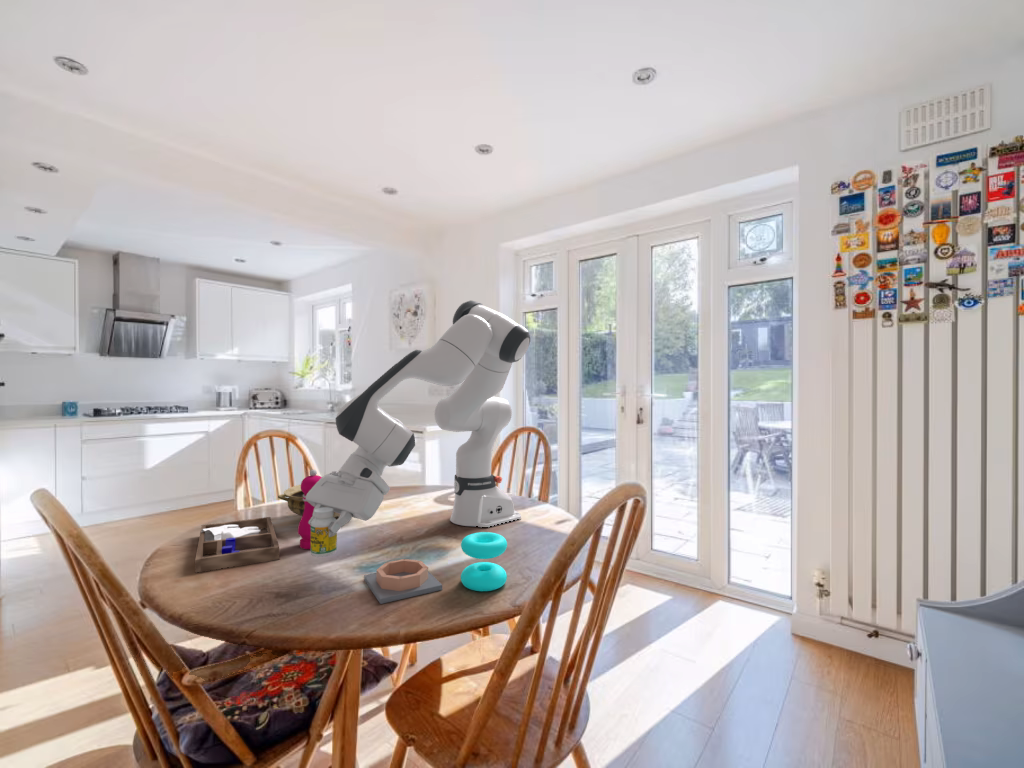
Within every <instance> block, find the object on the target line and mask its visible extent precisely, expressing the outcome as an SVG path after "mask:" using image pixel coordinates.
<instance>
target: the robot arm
mask: <svg viewBox="0 0 1024 768" xmlns="http://www.w3.org/2000/svg"><path fill="white" fill-rule="evenodd" d="M530 343H531V335H530V332H529V331H528V329H527V328H525V327H524V326H523V325H522V324H519V323H517V322H516V321H514V319H511V318H510V317H509V316H507V315H505V314H504V313H502V312H499V311H497V310H495V309H493V308H491V307H489V306H486V305H484V304H483V303H481V302H478V301H475V300H468V301H465V302H463V303H461V304H460V305H459V306H458V307H457V309H456V310H455V312H454V314H453V316H452V325H451V326H450V327H449V328H448V329H447V330H446V331H445V332H444V333H443V334H442V335H441V337H440V338H439V339H438V340H437V342H436V343H435V344H434V345H432V346H431V347H429V348H427V349H425V350H421V349H415V350H412V351H410V352H409V353H408V354H406V355H405V356H403V358H401V359H400V360H399V361H397V362H396V363H395V364H394V365H393V366H392V367H390V368H389V369H388V370H387V371H385V372H384V374H382V375H381V376H379V377H378V378H377V380H375V381H374V382H373V383H372V384H370V385H369V386H368V387H367V388H366V389H365V390H364V391H363V392H362V393H360V394H359V395H357V396H355V397H353V398H352V399H350V400H349V401H348V402H346V403H345V404H344V405H343V406H342V407H341V408H340V409H339V411H338V413H337V415H336V417H335V425H336V430H337V433H338V435H340V436H341V437H343V438H345V439H347V440H349V441H351V442H353V443H355V444H356V445H357V448H356V449H355V450H354V451H353V452H352V453H351V454H350V455H349V456H348V458H347V459H346V461H345V462H344V463H343V464H342V466H341V467H340V468H339V470H338V471H335V470H334V471H331V472H330V473H327V474H326V475H323V476H321V477H322V478H321V479H320V480H319V481H318V482H317V483H316V484H315V485H314V486H313V487H312V489H311V490H310V491H309V492H308V493H307V495H306V501H307V502H309V503H310V504H311V505H312V506H314V507H315V508H314V510H315V509H318V508H324V507H330V508H333V509H334V512H335V513H339V514H340V516H338V517H339V518H338V519H337V520H336V521H335V522H331V523H330V525H329V526H328V530H329V531H330V532H333V533H337V534H338V532H339V530H340V529H341V527H343V526H345V525H346V524H347V523H349V522H350V521H351V519H352V518H355V519H356V520H357V519H358V520H361V521H369V520H370V519H372V518H373V517H374V516H375V514H376V513H377V511H378V509H379V508H380V507H381V505H382V504H383V500H384V499H385V498H384V495H385V496H386V495H387V494H389V492H390V489H391V487H390V486H389V484H388V483H387V481H385V480H384V479H383V478H382V476H383V473H384V470H385V468H386V467H396V466H397V467H398V466H402V465H403V464H404V463H405V462H406V460H407V458H408V457H409V456H410V455H411V452H412V451H413V450H414V448H415V446H416V438H415V434H414V432H413V431H412V430H411V429H410V428H409V427H407V426H406V425H405V424H404V423H403V422H402V421H401V420H400V419H398V418H396V417H394V416H392V415H391V414H389V412H387V411H385V410H384V409H383V408H381V406H380V405H379V402H380V401H381V400H382V399H383V398H384V397H386V395H388V394H389V393H390V392H392V391H393V389H394V388H396V387H397V386H398V385H399V384H400V383H401V382H403V381H405V380H407V379H416V380H420V381H424V382H427V383H430V384H433V385H436V386H441V387H453V386H457V385H459V384H460V385H459V386H458V387H457V388H456V389H455V390H454V391H453V392H452V393H450V394H449V395H447V396H446V397H443V398H441V399H440V400H439V401H438V403H437V404H436V405H435V409H434V420H435V423H436V425H437V426H438V427H439V428H440V429H441V430H442V431H447V432H455V433H459V432H460V433H461V432H471V434H470V436H469V438H468V440H467V441H466V442H464V443H463V444H461V445H459V447H458V449H457V451H456V453H455V458H456V459H455V475H454V482H453V490H454V500H453V501H454V502H453V506H452V507H453V508H452V512H451V516H450V518H449V521H450V522H451V523H453V524H455V525H459V526H465V527H476V526H478V528H482V527H488V528H491V527H490V526H492V527H495V526H498V525H497V524H499V525H502V524H501V523H503V524H506V523H505V522H507V523H510V522H509V521H511V522H514V521H513V520H515V521H518V520H517V519H519V520H521V519H522V515H521V513H520V512H519V511H517V510H515V506H514V502H513V499H512V497H511V496H510V495H509V494H507V493H506V492H504V490H502V489H501V488H500V487H498V486H497V484H501V483H502V482H503V478H502V477H501V476H499V475H494V474H492V457H493V449H494V447H495V443H496V440H497V438H498V437H499V436H500V433H501V432H502V431H503V430H504V428H505V427H506V426H508V425H509V423H510V422H511V420H512V417H513V416H512V415H513V414H512V413H513V412H512V406H511V404H510V403H509V401H508V400H507V399H506V398H503V397H500V396H496V395H498V394H499V393H500V392H501V391H502V390H503V388H504V386H505V384H506V381H507V378H508V376H509V374H510V370H511V368H512V366H513V363H517V362H518V361H519V360H521V359H522V358H523V356H524V355H526V353H527V351H528V349H529V348H530V347H529V346H530ZM520 518H521V519H520ZM313 519H315V517H314V511H313V515H312V517H311V519H310V520H309V522H308V523H309V524H310V525H311V522H312V520H313ZM494 525H495V526H494Z"/></svg>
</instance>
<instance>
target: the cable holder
mask: <svg viewBox="0 0 1024 768" xmlns="http://www.w3.org/2000/svg"><path fill="white" fill-rule="evenodd" d="M234 552H241V549H240V550H236V537H234V538H226V545H225V546H224V547H222V554H228V553H234Z"/></svg>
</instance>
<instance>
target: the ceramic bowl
mask: <svg viewBox="0 0 1024 768" xmlns="http://www.w3.org/2000/svg"><path fill="white" fill-rule="evenodd" d="M303 495H304V493H303V492H302V490H301V483H300V484H297V485H293V486H291V487H289V488H287V489H285V490H284V491H283V493H282V494H281V493H280V494H278V495H277V499H280V500H282V501H286V502H287V507H288V509H289V510H290V511H291V512H292V513H293V514H295V515H297V516H301V517H302V516H303V513H304V507H305V503H304V501H303ZM332 517H334V518H335V519H336V520H337V519H338V518H339V517H340V514H339V513H335V512H334V514H333V516H332Z"/></svg>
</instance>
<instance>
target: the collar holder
mask: <svg viewBox="0 0 1024 768" xmlns="http://www.w3.org/2000/svg"><path fill="white" fill-rule="evenodd" d="M375 571H376V572H373V573H369V574H368V573H367V574H364V576H363V580H364V582H365V583H366V584H367V586H368V588H369V590H370V591H371V592H372V593H373V595H374V597H375V598H376V600H377V601H378V602H379V604H380V605H382V604H387V603H390V602H395V601H399V600H404V599H408V598H412V597H416V596H417V597H418V596H422V595H425V594H426V595H427V594H429V593H430V594H431V593H434V592H437V591H442V590H443V584H442V583H441V582H440V581H439V580H438V579H437V578H436V577H435V576H434V575H433V574H432V572H430V571H429V567H428V565H426V564H425V563H424V561H422V560H416V559H408V558H402V559H396V560H391V561H387V562H385V563H383V564H382V565H380V566H379V567H378V568H377V569H376V570H375Z"/></svg>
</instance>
